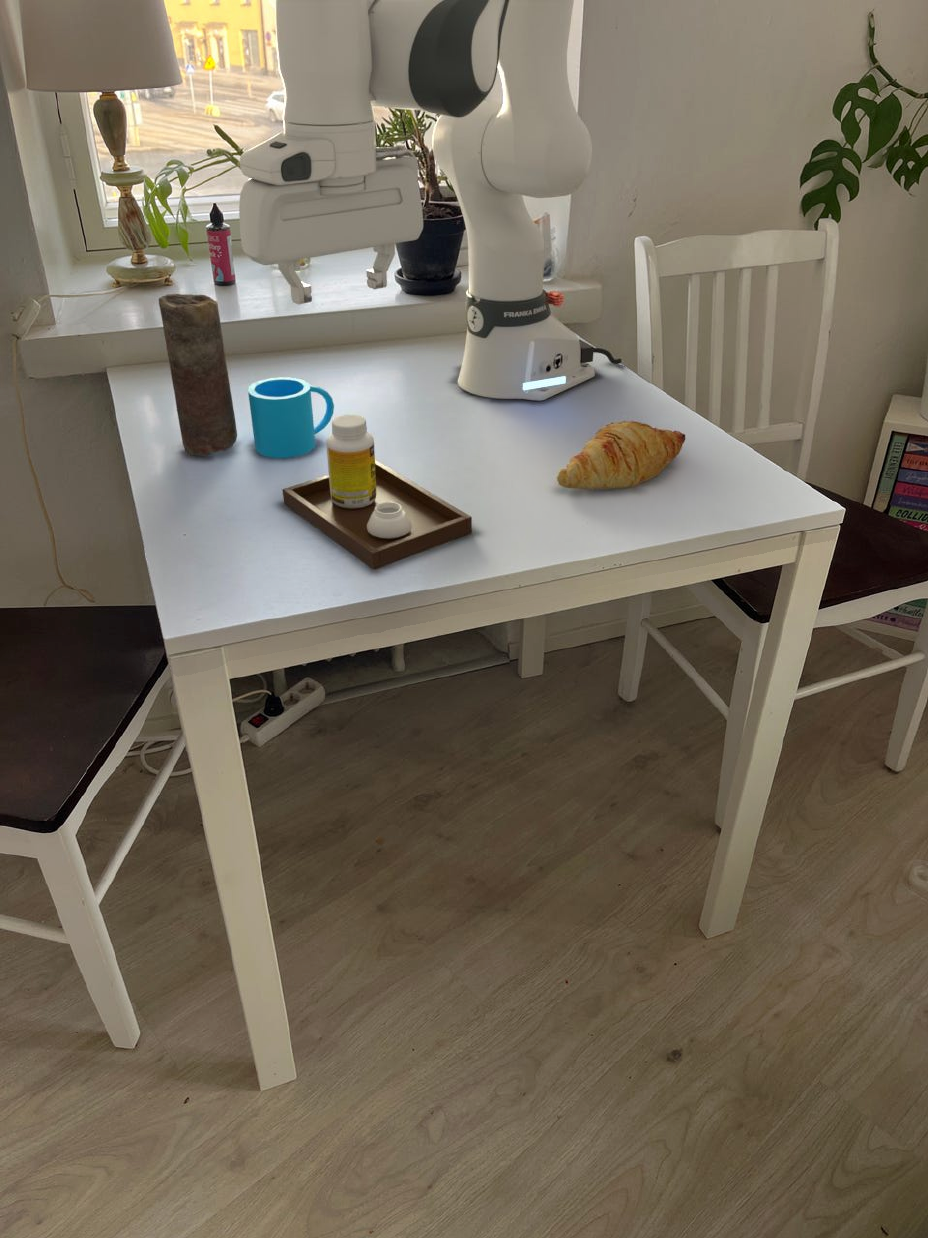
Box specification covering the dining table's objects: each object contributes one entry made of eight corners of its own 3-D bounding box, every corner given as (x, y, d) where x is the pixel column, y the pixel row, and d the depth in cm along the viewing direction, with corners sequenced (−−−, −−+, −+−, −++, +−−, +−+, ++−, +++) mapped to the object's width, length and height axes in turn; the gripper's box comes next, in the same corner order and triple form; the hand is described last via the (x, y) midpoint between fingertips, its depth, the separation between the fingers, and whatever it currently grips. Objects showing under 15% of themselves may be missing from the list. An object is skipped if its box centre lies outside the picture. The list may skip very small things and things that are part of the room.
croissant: (571, 526, 120) (595, 486, 113) (527, 467, 123) (548, 424, 116) (690, 479, 130) (719, 440, 123) (647, 425, 133) (672, 384, 127)
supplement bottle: (380, 508, 115) (376, 427, 109) (334, 513, 114) (327, 431, 108) (373, 487, 120) (368, 409, 114) (328, 492, 119) (321, 413, 113)
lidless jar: (407, 518, 113) (364, 522, 112) (406, 495, 111) (363, 500, 110) (414, 538, 109) (370, 543, 108) (414, 515, 107) (369, 520, 106)
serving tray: (376, 474, 124) (376, 459, 123) (471, 532, 111) (472, 516, 110) (283, 504, 117) (282, 488, 116) (374, 570, 104) (372, 553, 103)
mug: (273, 463, 127) (266, 404, 122) (244, 443, 132) (236, 385, 128) (350, 441, 133) (346, 383, 128) (320, 422, 138) (315, 367, 134)
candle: (188, 435, 134) (163, 289, 123) (241, 434, 135) (221, 288, 124) (179, 458, 128) (152, 306, 117) (235, 457, 128) (214, 305, 117)
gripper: (398, 139, 103) (402, 273, 111) (223, 157, 92) (241, 304, 100) (434, 146, 99) (435, 284, 106) (255, 167, 88) (271, 318, 96)
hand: (340, 294), depth 103 cm, fingers open, 8 cm apart
